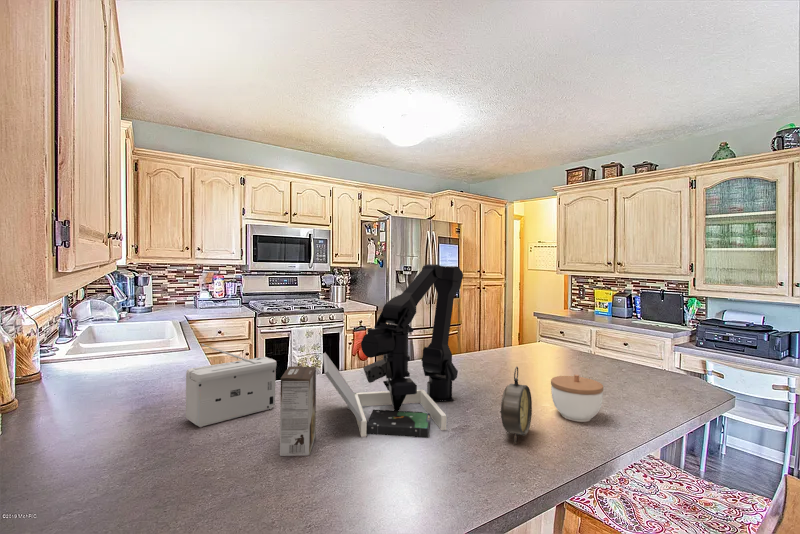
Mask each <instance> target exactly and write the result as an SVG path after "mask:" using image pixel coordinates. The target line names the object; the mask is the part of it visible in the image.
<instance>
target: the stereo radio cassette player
mask: <svg viewBox="0 0 800 534" xmlns="http://www.w3.org/2000/svg"><path fill="white" fill-rule="evenodd" d="M201 346H203V347H206V348H209V349H212V350H215V351H217V352H219V353H223V354H226V355H228V356H231V357H233V358H236V359H240V360H235V361H230V362H223V363H216V364H211V365H204V366H197V367H193V368H191V367H190V368H188V369H187V370H186V372H185V418H186V419H187V420H188V421H190V422H191V423H193V424H194V425H195V426H197V427H199V428H203V427H205V426H209V425H210V426H211V425H212V424H216V423H220V422H225V421H229V420H232V419H237V418H241V417H244V416H248V415H252V414H255V413H260V412H263V411H267V410H269V409H270V410H271V409H273V407H274V405H275V404H276V377H277V376H276V374H277V373H276V371H277V370H276V369H277V364H278V363H277V360H275V359H273V358H270V357H267V356H262V357H255V358H249V359H248V358H244V357H242V356H239V355H236V354H233V353H230V352H227V351H225V350H221V349H217V348H216V347H211V346H208V345H206V344H204V343H201Z"/></svg>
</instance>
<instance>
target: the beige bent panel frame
mask: <svg viewBox="0 0 800 534" xmlns="http://www.w3.org/2000/svg"><path fill="white" fill-rule="evenodd" d="M322 358H323V359H322V360H323V369H324V371H323V372H324V375H325V376H326V377H327V379H328V380H329V381H330V383H331V384H332V386H333V387H334V389H335V390H336V391H337V394H339V395H340V397H341V398H342V399H343V401H344V402H345V404H346V408H347V410H350V411H351V412H352V413H353V414H354V416H355V420H356V423H357V427H358V431H359V434H360V437H361V438H366V437H367V434H366V427H367V421H368V420H367V419H366V415H365V413H364V409H363V407H376V406H391V405H392V400H391V395H390V392H389V391H388V390H385V391H365V392H354V390H353V389H352V387H351V386H350V385H349V383H348V382H347V381H346V379H345V377H344V376H343V375H342V374H341V372H340V371H339V369H338V368H337V366H336V365H335V364H334V363H333V361H332V360H331V358H330V357H329V355H328V354H327V353H326V352H324V353H322ZM410 403H412V404H420V405H421V404H422V405H421V406H422V408H423V409H424V410H425V411H426V413H430V419H431V418H432V420H433V422H434V423H435V424H436V426H437V427H438V428H439V429H440V431H447V415H446V413H445V412H444V411H443V410H442V409H441V407H439V405H438V404H437V403H436V402H434V401H433V400H432V399H431V397H430V396H429V395H428V394H427V391H426V390H425V389H421V388H420V389H417V393H416V394H410V395H406V397H405V399H404V401H403V403H402V405H407V404H409V405H410ZM392 406H393V405H392Z"/></svg>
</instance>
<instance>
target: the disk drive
mask: <svg viewBox="0 0 800 534" xmlns="http://www.w3.org/2000/svg"><path fill="white" fill-rule="evenodd" d="M366 421H367V427H366V435H375V436H377V435H378V436H392V437H393V436H394V437H408V438H409V437H411V438H426V439H429V436H430V435H429V434H430V426H431V425H430V424H431V416H430V413H428V412H423V411H409V410H408V411H407V410H399V411H394V409H393V410H392V409H391V410H390V409H372V411H371V414H370V415H369V417H368V420H366Z"/></svg>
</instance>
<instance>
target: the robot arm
mask: <svg viewBox="0 0 800 534" xmlns="http://www.w3.org/2000/svg"><path fill="white" fill-rule="evenodd" d="M463 278H464V272H463V271H462V270H461V268H460V267H459V266H458V265H457V266H453V265H451V266H450V265H449V266H447V265H445V266H444V265H439V264H438V263H437V264H436V263H435V264H432V263H431V264H428V263H427V264H424V265H423V266H422V269H421V271H420V272H419V273H418V274H417V275H416V276H415V278H414V279H413V280H412V281H411V283H409V285H408V286H407V287H406V288H405V290H404V291H403V292H402V293H401V294H398V295H397V296H394V297H392V298H391V299H390V300H389V301H387V302H386V303H385V304H384V306H383V307H382V310H381V313H380V314H379V316H378V318H377V321H376V322H375V325H374V326H373V327H374V328H367V330H366V331H367V333H366V334H364V336H363V337H362V339H361V341H360V348H361V351H362V352H363V355H365V356H366V357H367V358H376V357H380V356H382V357H383V358H382V359H380V360H378V361H375V362H373V363H370V364H367V365H365V366H364V367H363V368H362V369H363V372H364V373H365V377H366V381H367V382H368V383H369V384H371V383H374V382H375V381H376V380H379V379H382V378H384V377H385V378H386V379H385V380H383V381H382V383H383V384H384V386H385V388H386V389H387V390H386V391H389V392H390V395H391V400H392V408H393V410H394V411H400V409H401V407H402V405H403V404H402V403H403V401H404V399H405V397H406V395H410V394H416V393H417V390H418V385H417V383H415V381H413V380H412V378H410V377H411V376H410V375H411V373H410V371H409V361H410V360H411V357H410V355H409V333H413V332H414V331H415V330H414V328H412V327H411V326H410V324H411V323H412V321H413V318H414V317H415V316H416V314H417V306H418V304H419V303H420V301H421V300H422V299H423V298H424V297H425V295H426V294H427V292H428V291H429V290H430V288H431V287H432V286H434V290H435V291H436V294H437V296H436V305H435V312H434V319H433V326H432V334H431V341H430V343H429V344H428V346H424V347H423V350H422V357H421V359H420V361H421V366H422V367H421V368H422V369H423V374H424V376H425V377H428V381H427V382H426V383H427V384H426V385H427V386H426V389H427V390H426V393H427V394H428V395H429V396H430V397H431V399H432V400H433V401H434V402H435V403H436V402H437V403H438V402H451V401H455V398H454V397H453V382H454V381H456V379H458V369H457V368H456V366H455V365H454V364H453V353H452V351H451V349H450V346H449V340H450V332H451V324H452V322H451V321H452V314H453V307H454V299H455V296H456V294H457V293H458V291H459V290H460V289H461V287H462V282H463V280H464V279H463Z"/></svg>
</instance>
